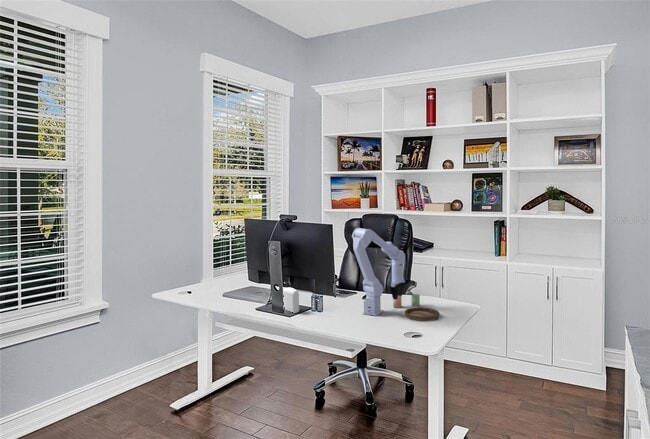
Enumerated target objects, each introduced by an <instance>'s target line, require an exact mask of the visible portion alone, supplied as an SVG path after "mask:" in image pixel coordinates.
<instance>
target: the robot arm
mask: <svg viewBox="0 0 650 439" xmlns="http://www.w3.org/2000/svg"><path fill="white" fill-rule="evenodd" d="M351 238H352V241H353V243H352V247H353V248H352V249H353V252H354V256H355V258H356V260H357V263H358V265H359V268H360V271H361V274H362V277H363V280H362V289H363V291H364V292H365V296H366V298H365V300H364V301H363V312H362V315H367V316H368V315H369V316H374V317H375V316H376V317H377V316H379V315H380V314H382V313H383V312H384V309H381V305H382V304H381V297H382V295H383V294H384V293H383V292H384V286H383V284H382V283H381V282H380V280H379V279H378V278H377V277H376V276H375V272H374V271H373V266H372V264H371V262H370V259H369V256H368V253H367V251H366V248H368V247H369V245H370V244H371V243H372V242H373V243H374V244H376V245H378V246H379V247H381V248H380V249H381V251H382V252H383V253H385V254H386V255H387V256H388V257H389V259H390V260H391V283H390V285H388V289H389V291H390V292H391V296H392V299H396V300H397V298H398V295H400V296H401V297H402V296H403V293H404V288H405V286H406V280H405V278H404V260H405V258H406V254H405V253H404V250H401V249H399V248H398V246H395V245H394V244H393V242H392V241H385V240H384V239H383V238H381V237H380V236H379V235H378V234H377V233H376V232H375V231H373V230H372V229H371V228H361V227H357V228H355V229H354V230H353V232H352V235H351Z"/></svg>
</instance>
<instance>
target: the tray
mask: <svg viewBox="0 0 650 439" xmlns="http://www.w3.org/2000/svg"><path fill="white" fill-rule="evenodd" d="M404 316H405V318H406V319H408V320H411V321H412V320H413V321H418V322H419V321H420V322H431V321H436V320H439V318H440V312H439V310H438V309H434V308H430V307H424V306H423V307H422V306H421V307H409V308H406V310H404Z"/></svg>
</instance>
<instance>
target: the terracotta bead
mask: <svg viewBox="0 0 650 439" xmlns="http://www.w3.org/2000/svg"><path fill="white" fill-rule="evenodd" d="M392 299H393V298H392ZM402 303H403V302H402V296H400V295H398V298H397V300H396V299H393V306H392V307H393V309H402V307H403V306H402Z"/></svg>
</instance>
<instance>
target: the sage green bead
mask: <svg viewBox="0 0 650 439" xmlns="http://www.w3.org/2000/svg"><path fill="white" fill-rule="evenodd" d="M420 304H421V302H420V294H418V293H412V294H411V308H417V307H420V306H421V305H420Z"/></svg>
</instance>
